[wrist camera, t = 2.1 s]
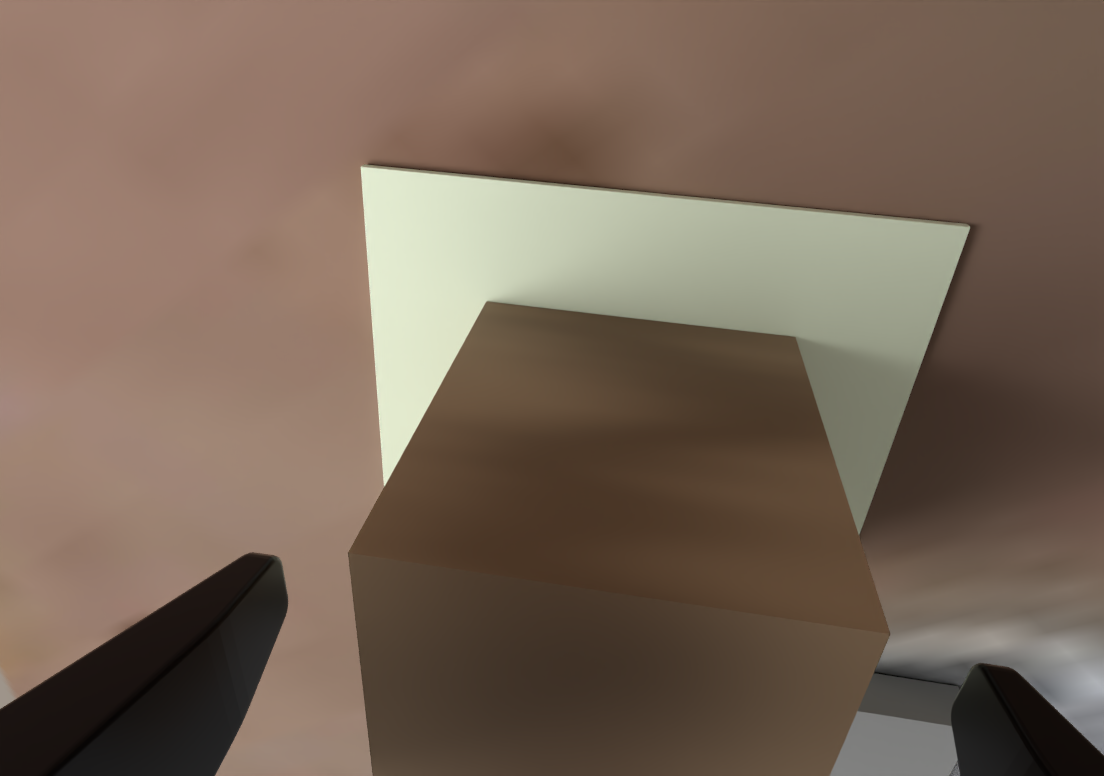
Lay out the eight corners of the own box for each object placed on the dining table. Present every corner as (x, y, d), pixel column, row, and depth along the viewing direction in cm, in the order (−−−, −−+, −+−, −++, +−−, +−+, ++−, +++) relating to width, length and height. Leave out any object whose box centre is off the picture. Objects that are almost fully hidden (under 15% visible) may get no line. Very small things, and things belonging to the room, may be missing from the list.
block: (795, 336, 12) (889, 634, 7) (736, 568, 14) (771, 911, 9) (486, 301, 12) (347, 553, 7) (483, 531, 15) (380, 838, 10)
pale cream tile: (967, 223, 11) (971, 227, 10) (815, 647, 15) (816, 653, 15) (364, 164, 11) (360, 166, 11) (393, 583, 16) (390, 588, 16)
